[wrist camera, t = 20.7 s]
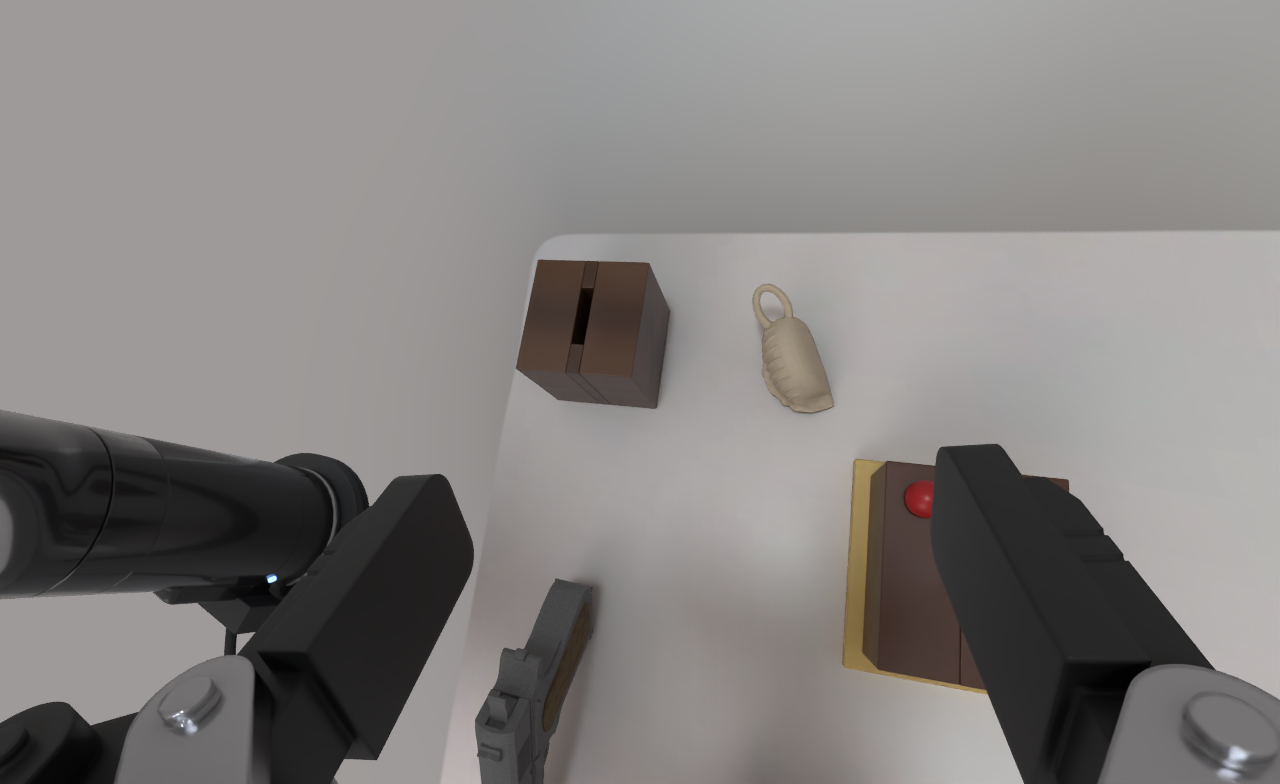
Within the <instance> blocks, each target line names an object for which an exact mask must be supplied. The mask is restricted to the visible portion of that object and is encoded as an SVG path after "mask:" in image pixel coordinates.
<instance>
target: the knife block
mask: <svg viewBox="0 0 1280 784" xmlns="http://www.w3.org/2000/svg"><path fill="white" fill-rule="evenodd" d="M669 314H670V310H669V308H668V306H667V303H666V301H665V299H664V296H663V294H662V292H661V289H660V287H659V285H658V282H657V280H656V278H655V275H654V273H653V271H652V268H651V266H650V264H649V263H638V262H601V261H600V262H598V261H566V260H538V263H537V268H536V273H535V278H534V283H533V288H532V292H531V297H530V302H529V307H528V312H527V317H526V321H525V326H524V331H523V336H522V341H521V346H520V351H519V355H518V360H517V365H516V369H517V370H519V371H520V372H521V373H523V374H524V375H525V376H527V377H528V378H529V379H531V380H532V381H534V382H535V383H536V384H538V385H539V386H540V387H542V388H543V389H544V390H546V391H547V392H548V393H550V394H551V395H552V396H554V397H555V398H556V399H558V400H566V401H577V402H588V403H601V404H610V405H611V404H612V405H621V406H632V407H643V408H654V409H655V408H656V406H657V399H658V392H659V385H660V378H661V371H662V364H663V357H664V350H665V343H666V336H667V328H668V321H669Z"/></svg>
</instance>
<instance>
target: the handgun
mask: <svg viewBox="0 0 1280 784" xmlns="http://www.w3.org/2000/svg"><path fill="white" fill-rule="evenodd" d="M592 589H593V588H592V587H590V586H586V585H582V584H577V583H573V582H568V581H564V580H560V579H555V582H554V583H553V585H552V586H551V588H550V590H549V592H548V594H547V597H546V599H545V601H544V603H543V606H542V608H541V610H540V613H539V615H538V618H537V620H536V623H535V625H534V628H533V630H532V633H531V635H530V637H529V639H528V642H527V644H526V646H525V648H524V650H523V649H520V648H518V649H516V651H515V650H511V649H508V648H504V649H503V651H502V654H501V658H500V668H499V675H498V679H497V682H496V684H495V686H494V688H493V690H492V689H491V691H490V693H489V694H488V697H487V699H486V700H485V702H484V704H483V706H482V708H481V710H480V712H479V714H478V715H477V717H476V719H475V731H476V738H477V745H478V754H477V757H479V763H480V772H481V782H482V784H543V778H544V764H545V761H546V758H547V754H548V749H549V739H550V737H551V736H552V735H553V734H554V733H555V731H556V728H557V725H558V721H559V716H560V711H561V707H562V705H563V702H564V700H565V697H566V695H567V692H568V690H569V687H570V685H571V682H572V680H573V678H574V675H575V673H576V670H577V668H578V665H579V663H580V660H581V658H582V655H583V653H584V650H585V648H586V645H587V643H588V640H589V639H590V638H591V635H592V632H593V622H592V598H591V592H592Z"/></svg>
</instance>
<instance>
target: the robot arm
mask: <svg viewBox="0 0 1280 784" xmlns="http://www.w3.org/2000/svg"><path fill="white" fill-rule="evenodd" d="M341 518H342V513H341V504H340V500H339V496H338V494H337V491H336V489H335V487H334V486H333V484H332V483H331V482H330V481H329V479H327V478H326V477H325V476H324V475H323V474H321V473H319V472H317V471H315V470H312V469H308V468H303V467H294V466H289V465H281V464H276V463H271V462H266V461H261V460H256V459H251V458H246V457H241V456H236V455H231V454H226V453H221V452H215V451H211V450H206V449H200V448H195V447H190V446H185V445H180V444H175V443H170V442H165V441H160V440H155V439H150V438H145V437H140V436H135V435H129V434H124V433H119V432H114V431H109V430H103V429H99V428H94V427H89V426H84V425H78V424H73V423H67V422H62V421H56V420H51V419H45V418H40V417H34V416H29V415H24V414H20V413H14V412H9V411H4V410H0V599H15V598H33V597H55V596H76V595H94V594H116V593H137V592H153V593H154V594H155V595H156V596H157V597H159V598H160V599H161V600H162V601H163V602H165V603H167V604H174V605H175V604H188V603H198V604H199V605H200V606H201V607H203V608H204V609H205V610H206V611H207V612H209V613H210V614H211V615H212V616H213V617H214V618H216V619H217V620H218V621H219V622H220V623H222V624H223V625H224V626H225V627H226V636H225V650H224V656H221V657H217V658H213V659H210V660H207V661H205V662H202V663H200V664H198V665H196V666H194V667H192V668H190V669H188V670H187V671H185V672H183V673H182V674H180V675H179V676H177V677H176V678H174V679H173V680H171V681H170V682H169V683H167V684H166V685H165V686H164V687H163V688H161V689H160V690H159V691H158V692H157V693H156V694H155V695H154V696H153V697H152V698H151V699H150V700H149V701H148V702H147V703H146V704H145V705H144V706H143V708H142V709H141V710H140V711H139V712H137V713H133V714H130V715H126V716H123V717H119V718H116V719H112V720H109V721H105V722H102V723H98V724H95V725H91V726H90V725H89V724H88V723H87V722H86V721H85V720H84V719H83V718H82V717H81V716H80V715H79V714H78V713H77V712H76V711H75V710H74V709H73V708H72V707H71V706H70V705H69V704H67V703H65V702H50V703H46V704H41V705H38V706H35V707H32V708H30V709H27V710H25V711H23V712H20V713H19V714H16V715H14V716H12V717H10V718H9V719H7V720H5V721H3V722H2V723H0V784H338V783H337V781H336V779H335V778H334V776H335V774H336V772H337V770H338V769H339V767H340V765H341V763H342V761H343V760H344V759H362V760H377V759H378V757H379V755H380V753H381V751H382V749H383V747H384V745H385V743H386V741H387V739H388V737H389V735H390V733H391V731H392V729H393V727H394V725H395V723H396V721H397V719H398V717H399V715H400V713H401V711H402V709H403V707H404V705H405V703H406V701H407V699H408V697H409V695H410V693H411V691H412V689H413V687H414V685H415V683H416V681H417V679H418V677H419V676H420V673H421V672H422V670H423V667H424V665H425V664H426V662H427V659H428V657H429V656H430V654H431V652H432V650H433V648H434V646H435V644H436V642H437V640H438V638H439V636H440V633H441V632H442V630H443V628H444V626H445V624H446V622H447V620H448V618H449V616H450V614H451V612H452V610H453V608H454V606H455V604H456V602H457V600H458V598H459V596H460V594H461V592H462V590H463V588H464V586H465V584H466V582H467V580H468V578H469V576H470V574H471V571H472V566H473V560H474V549H473V542H472V539H471V536H470V533H469V531H468V528H467V526H466V523H465V521H464V518H463V516H462V513H461V511H460V508H459V506H458V503H457V501H456V498H455V496H454V493H453V490H452V488H451V486H450V483H449V481H448V480H447V478H445V477H444V476H443V475H441V474H432V475H414V476H399V477H397V478H395V479H394V480H393V481H392V482H391V483H390V484H389V485H388V487H387V488H386V489H385V490H384V492H383V493H382V494H381V495H380V497H379V498H378V499H377V501H376V502H375V503H374V504H373V505H372V506H370V507H369V508H367V509H366V510H365V511H363V512H362V513H361V514H359V515H358V516H357V517H355V518H354V519H353V520H352V521H350V522H349V523H348V524H346V525H345V526H344V527H342V529H341V530H340V528H341ZM1103 530H1104V529H1103V528H1102V527H1101V526H1100V524H1099V523H1098V522H1097V520H1096V519H1095V518H1094V517H1093V515H1092V514H1091V513H1090V512H1089V510H1088V509H1087V508H1086V507H1085V505H1084V504H1083V503H1082V502H1081V500H1079V499H1078V498H1076V497H1075V496H1073V495H1072V494H1070V493H1069V492H1067V491H1066V490H1064V489H1062V488H1061V487H1059V486H1058V485H1056V484H1055V483H1053V482H1052V481H1050V480H1049V479H1047V478H1046V477H1029V478H1023V476H1022V475H1021V473H1020V472H1019V470H1018V469H1017V468H1016V466H1015V465H1014V463H1013V462H1012V460H1011V459H1010V458H1009V456H1008V455H1007V453H1006V452H1005V450H1004V449H1003V448H1002V447H1001V446H1000V445H998V444H983V445H965V446H948V447H941V448H940V449H939V450H938V453H937V457H936V466H935V477H934V488H933V500H932V511H931V522H930V537H931V546H932V552H933V557H934V561H935V564H936V567H937V570H938V572H939V575H940V577H941V580H942V582H943V585H944V587H945V590H946V592H947V595H948V597H949V599H950V602H951V604H952V607H953V609H954V612H955V614H956V617H957V619H958V622H959V624H960V627H961V629H962V631H963V634H964V636H965V639H966V641H967V644H968V646H969V649H970V651H971V654H972V656H973V659H974V661H975V664H976V666H977V668H978V671H979V673H980V676H981V678H982V681H983V683H984V686H985V688H986V691H987V693H988V696H989V698H990V700H991V703H992V705H993V708H994V710H995V713H996V715H997V718H998V720H999V723H1000V725H1001V728H1002V730H1003V733H1004V735H1005V737H1006V740H1007V742H1008V745H1009V747H1010V750H1011V752H1012V755H1013V757H1014V760H1015V762H1016V765H1017V767H1018V769H1019V772H1020V774H1021V777H1022V779H1023V782H1024V784H1280V700H1279V699H1277V698H1276V697H1274V696H1272V695H1271V694H1269V693H1267V692H1265V691H1263V690H1262V689H1260V688H1258V687H1256V686H1254V685H1252V684H1250V683H1248V682H1246V681H1243V680H1241V679H1239V678H1237V677H1234V676H1231V675H1228V674H1225V673H1223V672H1220V671H1216V670H1215V669H1214V667H1213V666H1212V665H1211V664H1210V663H1209V662H1208V660H1207V659H1206V658H1205V657H1204V655H1203V654H1202V653H1201V652H1200V650H1199V649H1198V648H1197V647H1196V645H1195V644H1194V643H1193V641H1192V640H1191V639H1190V638H1189V636H1188V635H1187V634H1186V633H1185V631H1184V630H1183V629H1182V628H1181V626H1180V625H1179V624H1178V623H1177V621H1176V620H1175V619H1174V618H1173V616H1172V615H1171V614H1170V612H1169V611H1168V610H1167V609H1166V607H1165V606H1164V605H1163V604H1162V602H1161V601H1160V600H1159V599H1158V597H1157V596H1156V595H1155V594H1154V592H1153V591H1152V590H1151V589H1150V587H1149V586H1148V585H1147V583H1146V582H1145V581H1144V580H1143V578H1142V577H1141V576H1140V575H1139V573H1138V572H1137V571H1136V570H1135V568H1134V567H1133V566H1132V565H1131V563H1130V562H1129V561H1125V560H1124V558H1123V553H1122V552H1121V551H1120V549H1119V548H1118V547H1117V546H1116V544H1115V543H1114V542H1113V541H1112V539H1111V538H1110V537H1109V536H1108V535H1104V532H1103ZM293 586H294V587H293ZM292 587H293V588H292ZM291 588H292V589H291ZM290 589H291V590H290ZM289 591H290V592H289ZM276 597H285V598H284V599H283V600H282V601H280V600H279V599H277V598H276ZM250 632H256V633H255V634H254V635H253V636H252V637H251V639H250V640H249V641H248V642H247V644H246V645H245V646H244V647H243V648H242V650H241V651H240V652H239V653H238V654H237V655H236V638H237V634H243V633H250Z"/></svg>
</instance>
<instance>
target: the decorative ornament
mask: <svg viewBox="0 0 1280 784" xmlns="http://www.w3.org/2000/svg"><path fill="white" fill-rule="evenodd" d="M765 291H768V292H771V293H773V294H775V295H776V296H777V297H778V298H779V300H780V301H781V303H782V305H783V307H784V311H785V317H782V318H780V319H777V320H776V321H774V322H771V321H770V320H769V319H768V318H767V317H766V316H765V314H764V313H763V311H762V308H761V305H760V296H761V294H762V293H763V292H765ZM753 308H754V312H755V315H756V317H757V318H758V320H759V322H760V323H761V324H762V325H763V326H764V327H765V328H766V329H765V331H764V336H763V338H762V352H763V368H762V372H763V376H764V378H765V380H766V383H767V387H768V389H769V391H770V392H771V393H772V395H774V396H776V397H778V398H779V399H780V401H781V403H782V404H783V405H788V406H790V407H791V408H792V409H793V410H794V411H797V412H808V413H809V412H817V411H821V410H824V409H828V408H831V407H833V406H834V404H833V399H832V395H831V391H830V387H829V383H828V379H827V376H826V373H825V370H824V367H823V364H822V362H821V359H820V356H819V353H818V351H817V348H816V345H815V342H814V340H813V337H812V335H811V333H810V331H809V329H808V327H807V325H806V324H805V323H804V322H802V321H801V320H800V319H798V318H795V317H793V309H792V306H791V303H790V301H789V299H788V297H787V296H786V294H785V293H784V292H783V291H782V290H781V289H780V288H778V287H777V286H774V285H772V284H763V285H761V286H759V287H758V288H757V289H756V290H755V292H754V294H753Z"/></svg>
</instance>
